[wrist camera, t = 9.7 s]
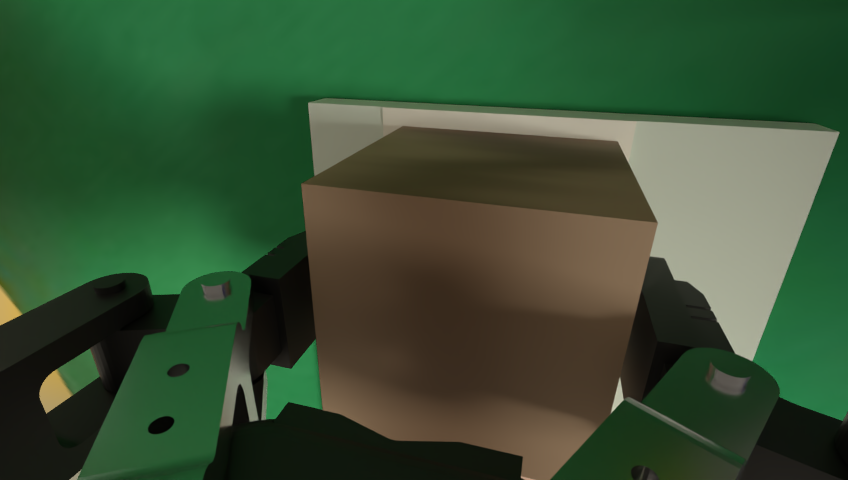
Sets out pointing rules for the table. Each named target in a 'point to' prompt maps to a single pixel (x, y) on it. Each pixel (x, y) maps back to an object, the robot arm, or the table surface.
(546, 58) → the table surface
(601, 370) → the walnut block
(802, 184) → the build plate
